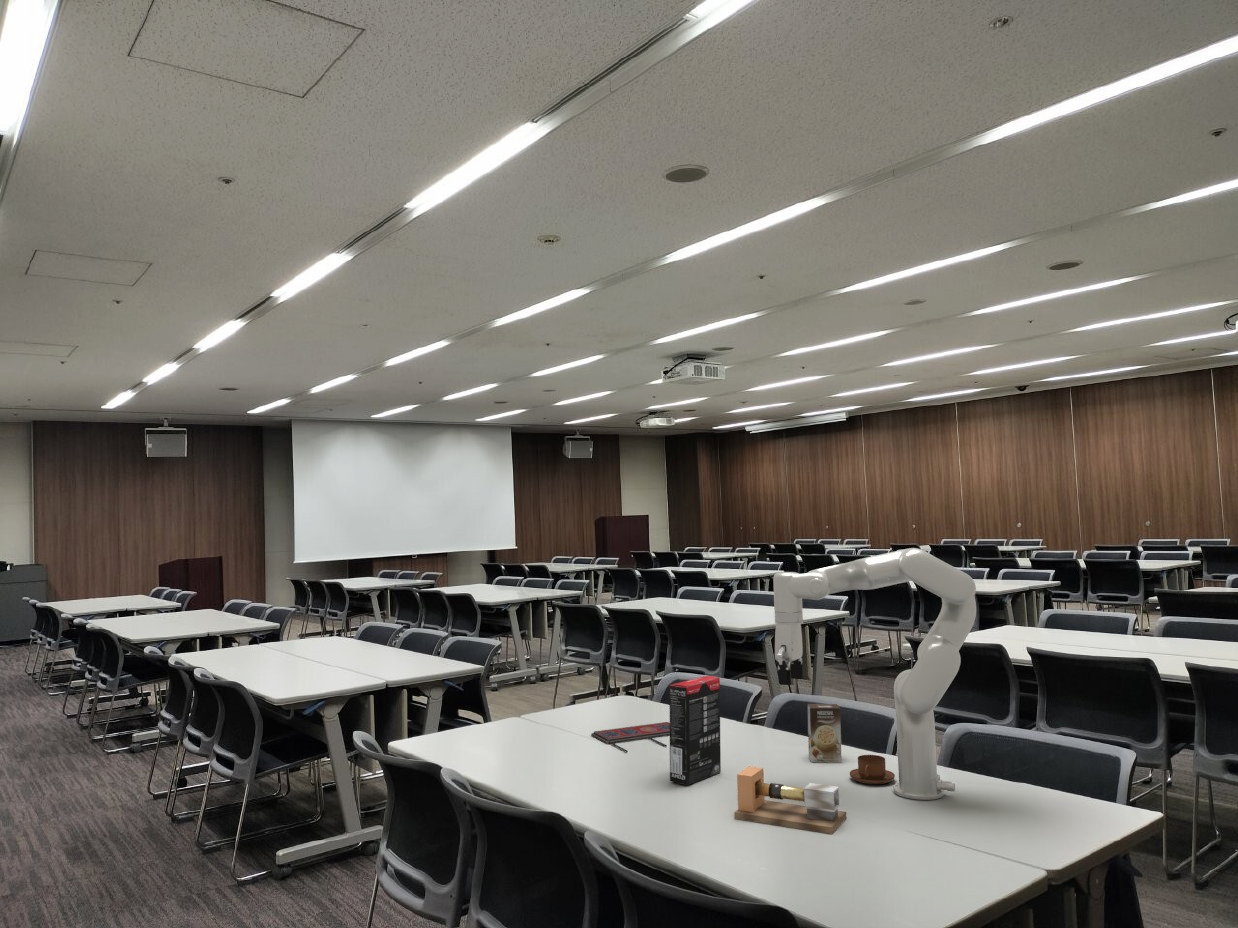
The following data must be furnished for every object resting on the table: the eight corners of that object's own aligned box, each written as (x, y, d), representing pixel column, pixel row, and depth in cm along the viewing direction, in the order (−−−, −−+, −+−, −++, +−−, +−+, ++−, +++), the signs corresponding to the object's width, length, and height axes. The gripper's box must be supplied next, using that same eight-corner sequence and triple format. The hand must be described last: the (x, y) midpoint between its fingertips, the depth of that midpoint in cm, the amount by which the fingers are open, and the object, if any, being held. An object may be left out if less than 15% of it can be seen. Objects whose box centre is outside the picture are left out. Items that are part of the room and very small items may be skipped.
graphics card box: (703, 768, 254) (700, 674, 256) (723, 772, 249) (720, 676, 251) (669, 783, 240) (666, 683, 242) (689, 787, 236) (686, 685, 238)
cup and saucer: (897, 788, 231) (896, 764, 232) (851, 786, 234) (850, 763, 234) (892, 775, 243) (891, 753, 244) (848, 773, 246) (847, 751, 246)
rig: (846, 817, 209) (845, 782, 209) (832, 833, 198) (830, 796, 199) (752, 804, 221) (751, 770, 221) (734, 818, 210) (733, 783, 211)
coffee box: (811, 762, 257) (808, 707, 258) (808, 756, 264) (806, 703, 265) (842, 762, 256) (840, 707, 257) (839, 757, 263) (837, 703, 264)
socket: (764, 802, 217) (763, 767, 218) (752, 812, 210) (751, 776, 211) (750, 800, 219) (749, 766, 220) (738, 809, 212) (737, 774, 213)
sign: (706, 736, 286) (623, 748, 273) (706, 743, 285) (624, 755, 273) (668, 721, 310) (590, 731, 297) (668, 727, 309) (590, 737, 297)
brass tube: (815, 801, 208) (814, 786, 209) (810, 805, 205) (810, 790, 206) (750, 792, 217) (750, 778, 217) (745, 796, 214) (745, 781, 214)
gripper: (786, 614, 245) (788, 675, 244) (764, 620, 230) (766, 686, 229) (811, 615, 241) (814, 677, 240) (791, 621, 227) (794, 688, 225)
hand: (791, 681), depth 235 cm, fingers open, 9 cm apart
